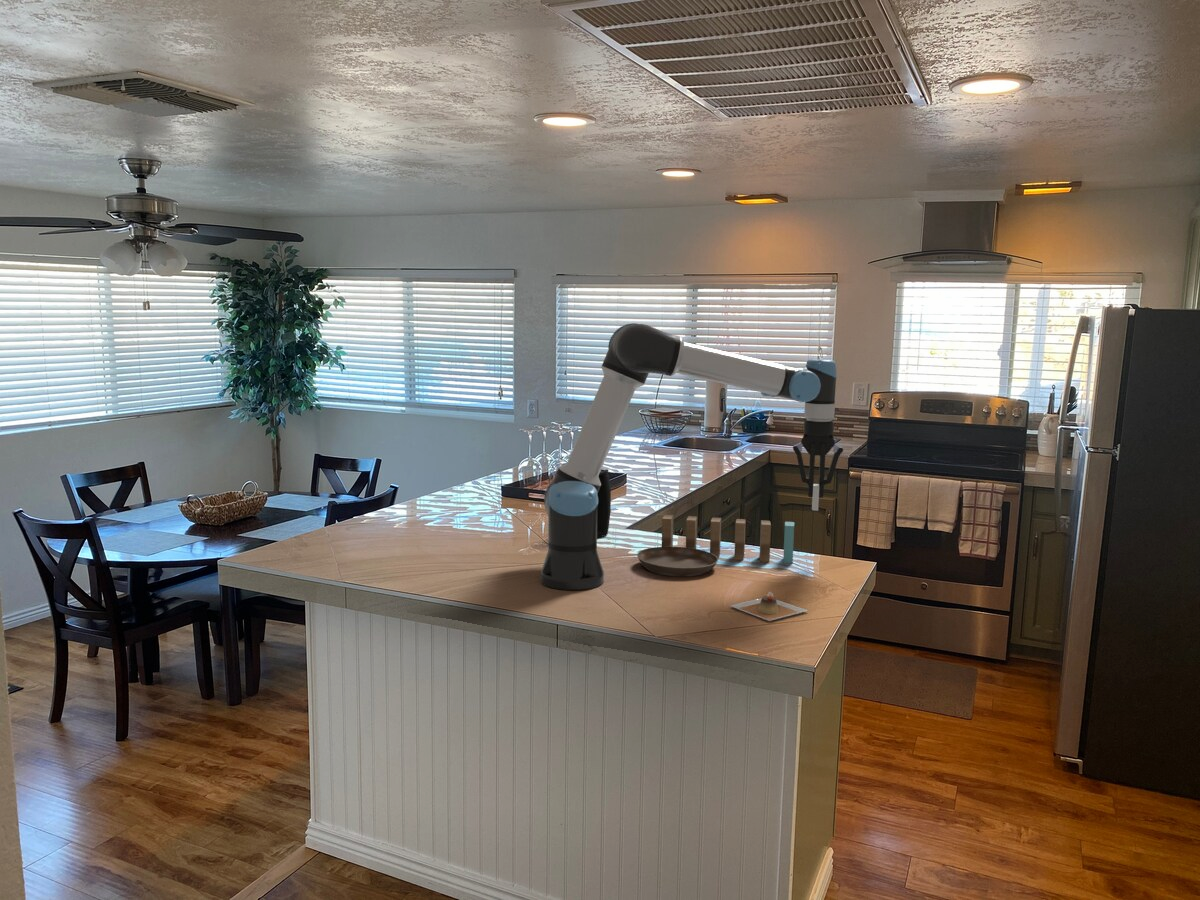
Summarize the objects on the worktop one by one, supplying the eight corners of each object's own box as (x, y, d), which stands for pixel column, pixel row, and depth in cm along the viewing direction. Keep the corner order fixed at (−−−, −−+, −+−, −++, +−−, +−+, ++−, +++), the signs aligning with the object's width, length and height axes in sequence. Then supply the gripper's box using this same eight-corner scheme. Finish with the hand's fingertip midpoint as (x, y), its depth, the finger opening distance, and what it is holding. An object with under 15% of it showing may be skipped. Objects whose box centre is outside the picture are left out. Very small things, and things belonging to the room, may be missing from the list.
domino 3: (718, 558, 236) (719, 521, 234) (709, 558, 236) (710, 521, 235) (720, 554, 241) (721, 518, 239) (711, 553, 241) (712, 517, 240)
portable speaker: (615, 535, 261) (617, 469, 258) (592, 540, 254) (593, 473, 251) (595, 530, 267) (596, 465, 264) (572, 534, 260) (573, 469, 257)
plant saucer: (723, 562, 234) (723, 549, 233) (710, 583, 214) (710, 570, 213) (647, 555, 239) (647, 543, 239) (627, 575, 220) (628, 562, 219)
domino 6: (792, 563, 232) (794, 526, 231) (783, 562, 232) (784, 525, 231) (792, 558, 237) (794, 522, 235) (783, 558, 237) (785, 521, 236)
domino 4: (743, 560, 234) (744, 523, 233) (734, 559, 235) (735, 522, 234) (744, 555, 239) (745, 519, 238) (735, 555, 240) (736, 518, 238)
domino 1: (670, 555, 238) (671, 519, 237) (661, 554, 239) (662, 518, 238) (672, 550, 243) (673, 515, 242) (663, 550, 244) (664, 514, 242)
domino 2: (694, 557, 237) (695, 520, 236) (685, 556, 238) (686, 519, 236) (696, 552, 242) (697, 516, 241) (687, 551, 242) (688, 516, 241)
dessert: (769, 625, 185) (770, 603, 184) (729, 610, 195) (729, 589, 194) (808, 615, 192) (809, 594, 191) (767, 601, 202) (768, 580, 201)
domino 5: (769, 561, 233) (771, 524, 232) (760, 561, 233) (761, 524, 232) (768, 557, 238) (769, 520, 237) (759, 556, 238) (760, 520, 237)
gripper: (844, 419, 230) (840, 507, 234) (793, 417, 233) (789, 505, 236) (846, 422, 223) (841, 513, 226) (793, 420, 226) (789, 511, 229)
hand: (815, 509), depth 231 cm, fingers closed
